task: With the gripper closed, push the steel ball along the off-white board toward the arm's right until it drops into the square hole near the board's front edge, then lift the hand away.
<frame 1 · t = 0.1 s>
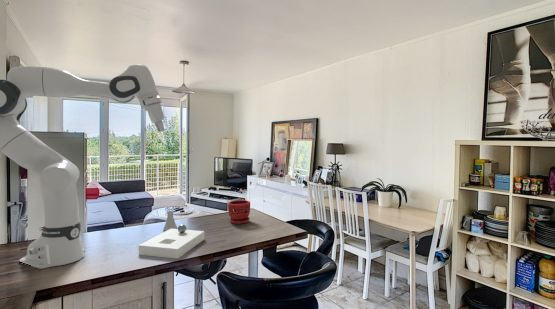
hand: (161, 131, 133), 52 cm above the kitchen counter, tool tilted 20°, fingers open, 8 cm apart
steel ball: (182, 228, 140), point 6 cm above the kitchen counter, touching hole board
hole board: (173, 246, 133), on the kitchen counter
plant pot: (239, 222, 174), on the kitchen counter
flask: (170, 230, 157), on the kitchen counter
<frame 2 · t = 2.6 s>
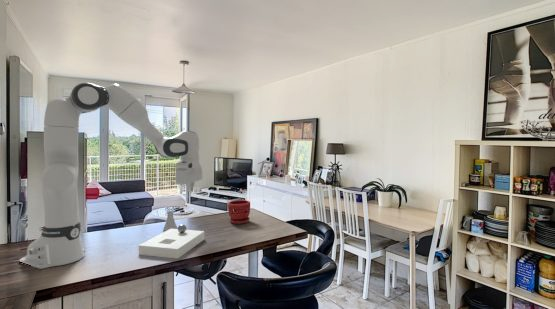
hand: (190, 191, 147), 23 cm above the kitchen counter, tool pointing down, fingers closed
nothing on the kitchen counter moved.
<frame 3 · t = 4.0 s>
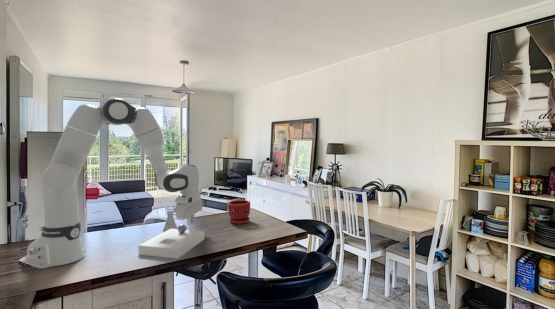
hand: (190, 223, 147), 6 cm above the kitchen counter, tool pointing down, fingers closed
nothing on the kitchen counter moved.
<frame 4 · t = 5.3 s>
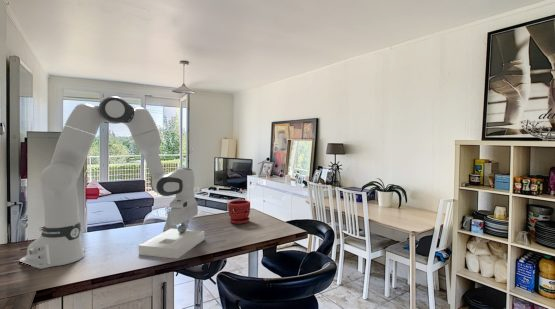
hand: (185, 228, 143), 5 cm above the kitchen counter, tool pointing down, fingers closed
steel ball: (181, 228, 140), point 6 cm above the kitchen counter, touching gripper, hole board
everything else where it was.
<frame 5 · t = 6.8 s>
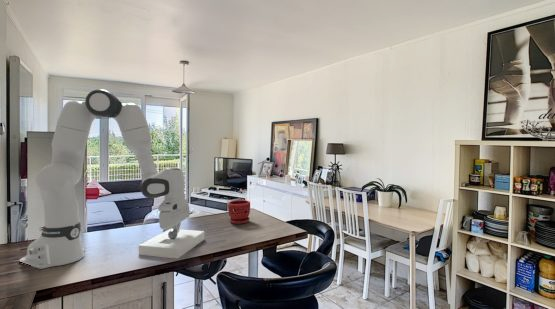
hand: (176, 232, 134), 6 cm above the kitchen counter, tool pointing down, fingers closed
steel ball: (172, 234, 131), point 6 cm above the kitchen counter, tilted 128°, touching gripper, hole board
everything else where it was.
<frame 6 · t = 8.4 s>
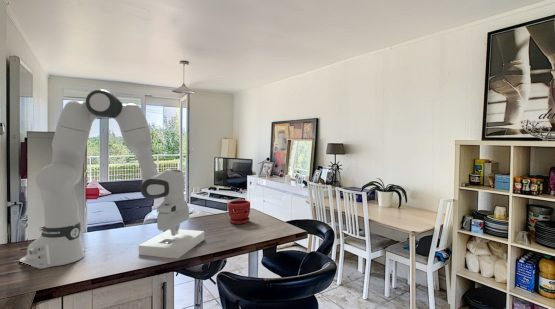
hand: (174, 234, 133), 5 cm above the kitchen counter, tool pointing down, fingers closed
steel ball: (167, 246, 128), point 2 cm above the kitchen counter, tilted 124°
everything else where it was.
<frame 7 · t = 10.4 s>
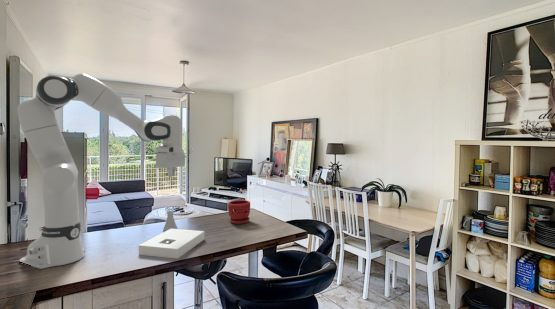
hand: (171, 176, 145), 30 cm above the kitchen counter, tool pointing down, fingers closed
steel ball: (167, 246, 128), point 2 cm above the kitchen counter, tilted 137°
everything else where it was.
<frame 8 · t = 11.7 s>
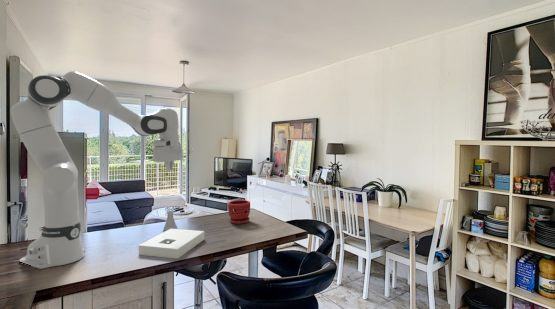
hand: (169, 170, 144), 33 cm above the kitchen counter, tool pointing down, fingers closed
steel ball: (168, 246, 128), point 2 cm above the kitchen counter, tilted 146°
everything else where it was.
at the end: steel ball 0.3 cm from the target spot on the hole board, point 2.0 cm above the hole board's base; the gripper is holding nothing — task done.
